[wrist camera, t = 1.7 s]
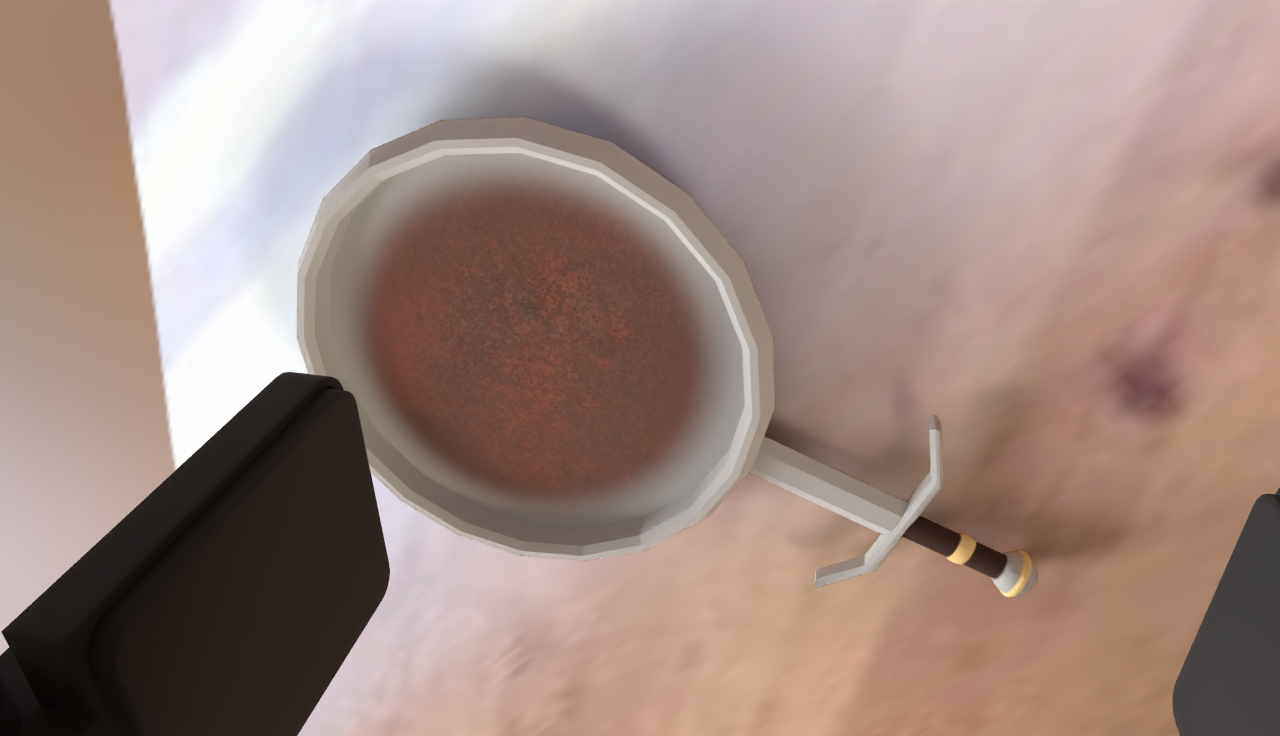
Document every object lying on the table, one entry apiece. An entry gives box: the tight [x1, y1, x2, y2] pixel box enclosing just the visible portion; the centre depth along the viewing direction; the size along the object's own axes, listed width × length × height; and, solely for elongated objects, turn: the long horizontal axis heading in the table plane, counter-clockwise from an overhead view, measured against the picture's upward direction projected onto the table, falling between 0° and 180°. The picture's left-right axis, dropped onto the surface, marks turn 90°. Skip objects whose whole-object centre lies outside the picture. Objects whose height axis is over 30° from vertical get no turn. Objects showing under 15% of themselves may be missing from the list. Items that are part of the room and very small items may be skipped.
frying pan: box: [297, 117, 1038, 597], centre depth 31 cm, size 17×3×28 cm
